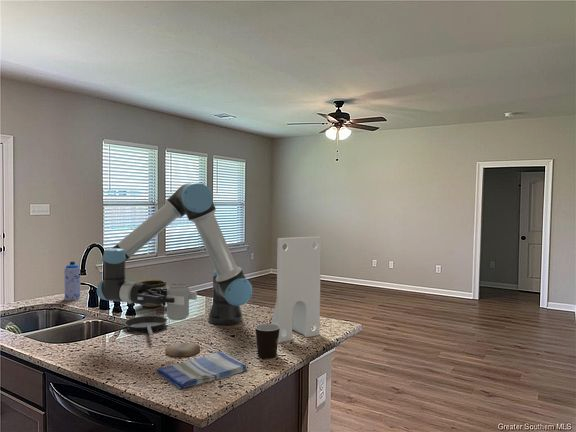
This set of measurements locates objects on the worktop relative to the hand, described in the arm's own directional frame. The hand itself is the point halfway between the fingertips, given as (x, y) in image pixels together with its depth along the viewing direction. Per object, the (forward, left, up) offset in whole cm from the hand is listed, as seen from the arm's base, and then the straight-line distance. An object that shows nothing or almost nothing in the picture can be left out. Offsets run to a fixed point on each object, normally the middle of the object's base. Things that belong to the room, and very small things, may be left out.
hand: (190, 298), depth 147 cm
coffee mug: (-27, +6, -20) cm, 34 cm away
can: (+4, -3, -8) cm, 9 cm away
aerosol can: (+58, -98, -20) cm, 115 cm away
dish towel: (-3, +16, -21) cm, 26 cm away
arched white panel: (-40, -15, -20) cm, 47 cm away
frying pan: (+16, -30, -20) cm, 39 cm away
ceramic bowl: (+16, -70, -20) cm, 74 cm away
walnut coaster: (+2, -4, -20) cm, 20 cm away
